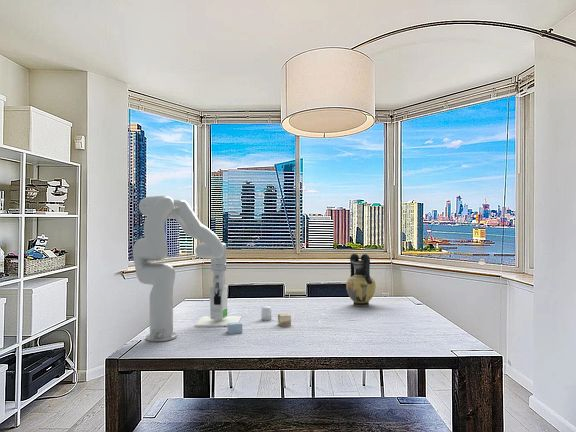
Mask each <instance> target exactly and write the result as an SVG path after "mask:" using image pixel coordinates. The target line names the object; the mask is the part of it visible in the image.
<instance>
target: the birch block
mask: <svg viewBox="0 0 576 432" xmlns="http://www.w3.org/2000/svg"><path fill="white" fill-rule="evenodd" d="M277 325H278V326H279V327H289V326H290V327H291V326H292V315H291V314H290V313H288V312H287V313H277Z"/></svg>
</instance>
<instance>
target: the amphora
mask: <svg viewBox="0 0 576 432" xmlns="http://www.w3.org/2000/svg"><path fill="white" fill-rule="evenodd" d="M349 261H350V263H349V264H350V275H349V276H350V277H349V278H348V279H347V281H346V284H345V287H346V288H345V290H346V292H347V295H348V297H349V299H350V300H351V301H352V302H353V306H355V307H369V306H370V303H369V302H370V301H371V300H372V299H373V297H374V295H375V293H376V281H375V279H374V278H373V277H372V276H370V275H371V274H370V269H371V268H370V267H371V266H370V265H371V264H370V263H371V258H370V256H369V255H368V254H367V253H364V254H362V255H361V257H359V255H358V254H357V253H352V254H351V255H350V257H349Z"/></svg>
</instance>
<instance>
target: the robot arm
mask: <svg viewBox="0 0 576 432" xmlns="http://www.w3.org/2000/svg"><path fill="white" fill-rule="evenodd" d="M138 208H139V212H140V213H141V214H142V215H143V216H145V220H144V222H143V236H144V237H141V238H139V239H137V240H136V241H135V242H134V244H133V248H132V256H133V264H134V268H135V273H136V277H137V279H138V282H140V283H141V284H142V285H148V286H149V285H151V286H152V287H151V290H150V293H149V334H147V335H146V336H145V340H146V341H148V342H166V341H167V342H168V341H171V340H174V339H176V338H177V337H178V334H177V333H176V332H174V285H175V279H176V270H175V268H174V267H173V266H172V265H171V264H169V263H166V262H155V261H162V260H164V259H166V258H167V256H168V254H169V250H168V248H169V247H168V241H167V235H166V234H167V233H166V222H167V220H171V219H175V221H176V222H177V223H178V224H179V226H180V228H181V229H182V231H183V233H184V234H185V235H187V236H189V237H190V238H194V239H195V240H198V241H200V242H201V243H199V244H198V245H196V247H195V251H194V252H195V254H196V256H197V257H199V258H200V259H210V271H211V272H212V286H213V291H214V305H220V304H221V296H220V291H222V292H223V291H224V286H226V271H227V244H226V243H225V242H222V241H221V239H220V238H219V237H218V235H217V234H216V233H215V232H214V231H212V230H211V229H210V228H208V227H207V226H206V225H204V224H203V223H202V222H201V221H200V219H199V217H198V216H197V215H196V213H195V211H194V210H193V209H192V206H191V205H190V204H189V202H188V201H186V200H184V199H173V198H172V197H171V196H169V195H156V196H146V197H143V198H142V199H141V200H140V201H139V204H138ZM218 287H219V288H220V290H218ZM214 289H215V290H214Z"/></svg>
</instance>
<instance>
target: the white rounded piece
mask: <svg viewBox="0 0 576 432" xmlns="http://www.w3.org/2000/svg"><path fill="white" fill-rule="evenodd" d="M260 308H261V309H260V310H261V312H260V313H261V318H260V319H261V321H271V320H272V306H269V305H267V306H261V307H260Z"/></svg>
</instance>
